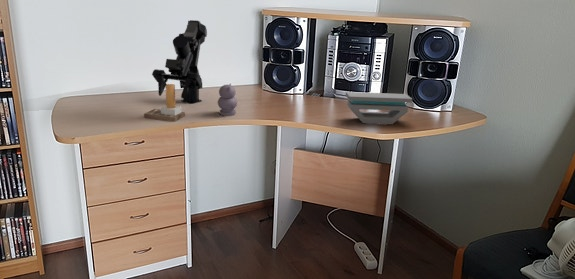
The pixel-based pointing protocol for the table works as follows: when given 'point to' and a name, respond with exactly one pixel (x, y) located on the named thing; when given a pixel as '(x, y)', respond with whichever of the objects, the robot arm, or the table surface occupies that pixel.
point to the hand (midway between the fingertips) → (170, 96)
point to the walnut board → (163, 115)
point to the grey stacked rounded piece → (227, 100)
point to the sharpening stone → (378, 106)
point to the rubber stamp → (170, 102)
